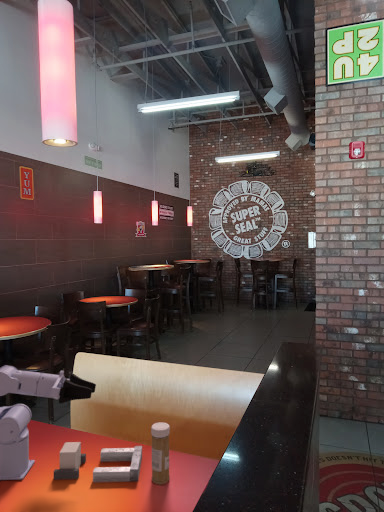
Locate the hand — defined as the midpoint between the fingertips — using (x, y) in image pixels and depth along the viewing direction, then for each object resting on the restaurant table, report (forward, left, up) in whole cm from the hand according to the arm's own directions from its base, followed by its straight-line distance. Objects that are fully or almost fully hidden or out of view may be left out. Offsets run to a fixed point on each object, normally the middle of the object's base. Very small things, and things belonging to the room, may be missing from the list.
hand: (93, 390), depth 97 cm
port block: (+6, -1, -20) cm, 21 cm away
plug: (-6, -1, -20) cm, 21 cm away
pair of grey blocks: (-6, -1, -20) cm, 21 cm away
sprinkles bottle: (+18, -6, -20) cm, 28 cm away
